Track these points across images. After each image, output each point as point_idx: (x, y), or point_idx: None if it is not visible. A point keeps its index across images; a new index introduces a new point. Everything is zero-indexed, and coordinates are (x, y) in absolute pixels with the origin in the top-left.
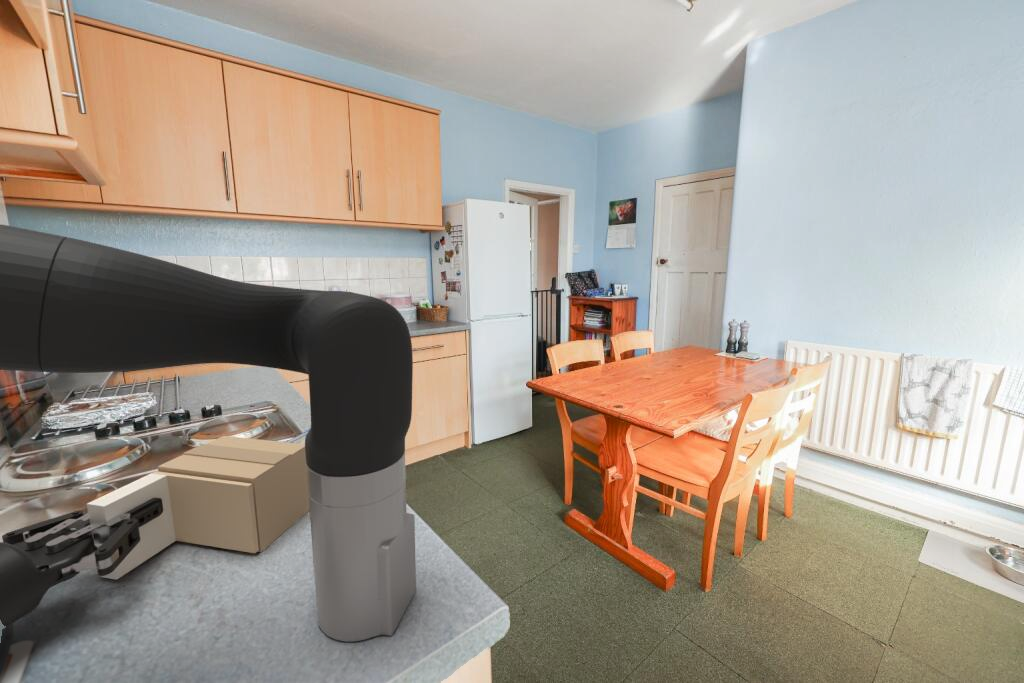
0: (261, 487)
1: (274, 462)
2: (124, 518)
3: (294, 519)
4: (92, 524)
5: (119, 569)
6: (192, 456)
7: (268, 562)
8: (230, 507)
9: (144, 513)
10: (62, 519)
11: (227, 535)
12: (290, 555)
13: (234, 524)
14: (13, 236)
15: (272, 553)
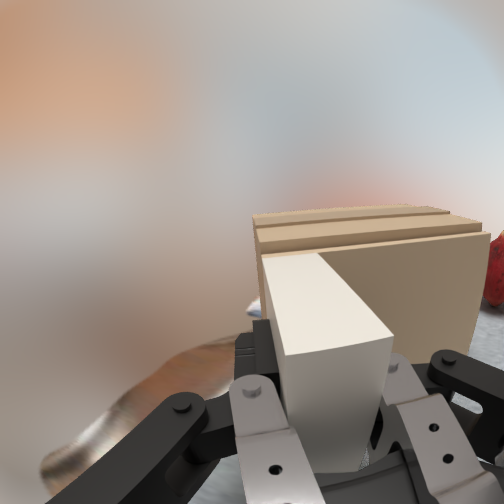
0: None
1: (444, 210)
2: (409, 364)
3: None
4: (406, 416)
5: None
6: (286, 226)
7: (485, 358)
8: (456, 290)
9: None
10: (174, 441)
11: (433, 350)
12: (486, 342)
13: (454, 322)
14: None
15: (469, 351)
